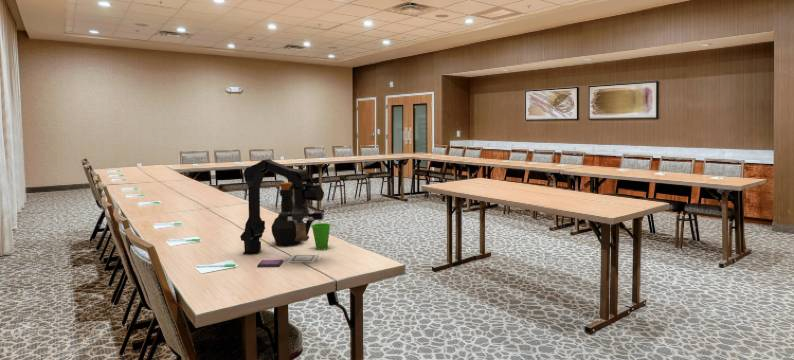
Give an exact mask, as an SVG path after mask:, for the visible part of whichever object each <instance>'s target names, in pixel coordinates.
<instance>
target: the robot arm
mask: <svg viewBox="0 0 794 360" xmlns="http://www.w3.org/2000/svg"><path fill="white" fill-rule="evenodd" d="M268 171H269V172H272V173H274V174H277V175H278V176H281V177H284V178H286V179H287V180H288V181H287V182H291V183H292V185H291V186H290V187H289V189H293V210H292V212H291V214H290V212H281V211H280V213H278V216H277V217H278V220H286V219H287V218H288V221H287V222H290V223H291V225H292V226H293V228H294V231H295V233H296V224H297V220H303V221H304V220H305V219H306V218H307V220H306V222H305V223H307V228H306V235H308V236H309V232H310V229H311V225H313V222H315V221H322V220H323V219H324V218H325V213H324V211H322V210H319V211H318V210H317V211H316V210H314V211H313V213H312V212H311V213H310V210H309V206H308V205H309V204H308V203H309V201H315V202H321V201H323V200H324V197H325V191H324V189H323V188H322V187H321V186H322V185H321V184H315V183H314V182H313V180H312V178H311V177H310V175H309V172H308V171H307V170H306V169H302V168H301V169H300V168H291V167H289V166H287V165H284V164H282V163H281V164H280V163H279V162H276V161H274V160H272V159H262V160H260V161H259V162H256V163H255V164H253V165H251V166H247V167H245V169H244V170H243V176H244V177H243V179H244V182H245V183H246V185H247V187H248V191H247V192H248V195H247V196H248V218H247V221H246V222H245V225H244V231H243V232H242V233H241V235H240V236H239V237H240V240H241V241H242V242H243V243H244V245H243V247H244V248H243V249H244V252H243V254H244V255H257V254H259V253H260V252H261V251H262V242H261V240H260V239H261V238H263V233H265V230H266V221H265V220H262V218H261V192H260V191H261V184H262V182H263V180H264V176H265V175H264V174H266V173H267V172H268Z"/></svg>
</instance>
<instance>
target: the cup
mask: <svg viewBox="0 0 794 360" xmlns="http://www.w3.org/2000/svg"><path fill="white" fill-rule="evenodd" d="M310 228H311V229H312V233H313V237H314V242H315V247H316V248H315V249H317V250H326V249H327V248H328V244H329V236H330V228H331V223H327V222H320V223H314V224H313V223H312V224H311V226H310Z"/></svg>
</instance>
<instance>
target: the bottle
mask: <svg viewBox="0 0 794 360" xmlns="http://www.w3.org/2000/svg"><path fill="white" fill-rule="evenodd" d="M279 184H280V189H279V196H280V197H281V199H280V200H281V201H280V210H281V211H280V213H281V212H290V214H291V212H292V210H293V207H294V199H293V196H294V191H293V189H289V187H290V186H291V185H292V184H293V183H291V182H290V181H286V182H280V183H279ZM287 221H288V218H287V219H286V220H278V216H276V218H274V220H273V223H272V225H271V234H272V237H273V239H274V243H275V245H276V246H279V247H280V246H281V247H294V246H296V245H300V244H302V241H295V238H296V233H295V231H294V228H293V226H292V225H291V223H290V222H287ZM297 223H305V222H304V219H303V220H297Z"/></svg>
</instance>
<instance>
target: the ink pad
mask: <svg viewBox="0 0 794 360" xmlns="http://www.w3.org/2000/svg"><path fill="white" fill-rule="evenodd" d="M282 264H284V259H262V260H261V261H260V262H258V264H257V268H280V267H281V266H282Z"/></svg>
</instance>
